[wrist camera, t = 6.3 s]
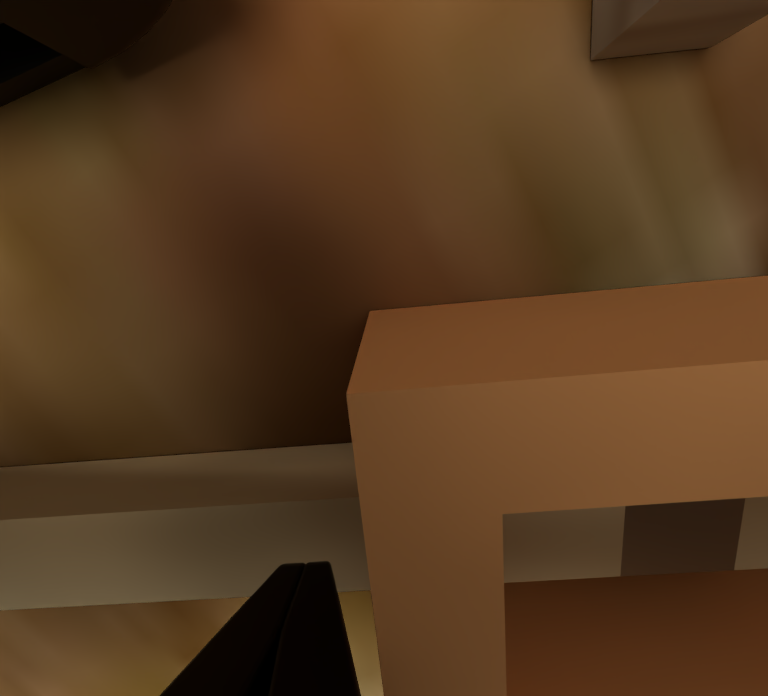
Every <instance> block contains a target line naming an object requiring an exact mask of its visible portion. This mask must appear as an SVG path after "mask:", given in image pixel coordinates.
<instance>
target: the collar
mask: <svg viewBox="0 0 768 696" xmlns="http://www.w3.org/2000/svg"><path fill="white" fill-rule="evenodd" d="M346 397H347V405H348V413H349V421H350V429H351V437H352V445H353V453H354V461H355V469H356V477H357V485H358V493H359V501H360V509H361V517H362V524H363V532H364V540H365V548H366V556H367V564H368V572H369V580H370V588H371V596H372V604H373V612H374V620H375V628H376V636H377V644H378V652H379V660H380V668H381V676H382V684H383V692H384V696H768V568H766V569H748V570H729V571H711V572H693V573H675V574H656V575H638V576H620V577H602V578H583V579H565V580H547V581H529V582H510V583H504V560H503V516H502V514H513V513H528V512H543V511H558V510H573V509H588V508H603V507H618V506H633V505H648V504H663V503H678V502H693V501H707V500H722V499H737V498H752V497H767V496H768V275H767V276H756V277H745V278H734V279H723V280H711V281H700V282H689V283H678V284H667V285H655V286H644V287H633V288H622V289H610V290H599V291H588V292H577V293H566V294H554V295H543V296H532V297H521V298H509V299H498V300H487V301H476V302H465V303H453V304H442V305H431V306H420V307H409V308H397V309H386V310H375V311H370V312H369V316H368V319H367V323H366V326H365V330H364V333H363V337H362V340H361V344H360V347H359V351H358V354H357V358H356V361H355V365H354V368H353V372H352V375H351V379H350V382H349V386H348V389H347V393H346Z"/></svg>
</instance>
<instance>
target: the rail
mask: <svg viewBox="0 0 768 696" xmlns="http://www.w3.org/2000/svg"><path fill="white" fill-rule="evenodd" d="M766 15H768V0H593V9H592V37H591V60H597V59H607V58H616V57H625V56H635V55H644V54H653V53H663V52H672V51H681V50H691V49H700V48H709V47H712V46H714V45H716V44H717V43H719V42H721V41H723V40H724V39H726V38H728V37H729V36H731V35H733V34H735V33H736V32H738V31H740V30H742V29H743V28H745V27H747V26H749V25H750V24H752V23H754V22H755V21H757V20H759V19H761V18H762V17H764V16H766ZM502 516H503V560H504V583H510V582H529V581H547V580H565V579H583V578H602V577H620V576H638V575H656V574H675V573H693V572H711V571H729V570H748V569H766V568H768V496H767V497H752V498H737V499H722V500H707V501H693V502H678V503H663V504H648V505H633V506H618V507H603V508H588V509H573V510H558V511H543V512H528V513H513V514H502ZM316 561H329V562H330V563H331V566H332V570H333V574H334V579H335V583H336V588H337V592H346V591H364V590H371V588H370V580H369V572H368V564H367V556H366V548H365V540H364V532H363V524H362V517H361V509H360V501H359V493H358V485H357V477H356V469H355V461H354V453H353V445H352V443H341V444H327V445H312V446H298V447H284V448H270V449H255V450H241V451H227V452H213V453H198V454H184V455H170V456H156V457H142V458H127V459H113V460H99V461H85V462H70V463H56V464H42V465H28V466H13V467H0V610H18V609H36V608H54V607H73V606H91V605H109V604H127V603H146V602H164V601H182V600H200V599H219V598H237V597H251V596H252V595H253V594H254V593H255V591H256V590H257V589H258V588H259V587H260V586H261V585H262V584H263V583H264V582H265V581H266V579H267V578H268V577H269V576H270V575H271V574H272V573H273V572H274V571H275V570H276V569H277V568H278V567H279V566H280V565H282V564H285V563H300V562H303V563H305V564H307V563H308V562H316Z"/></svg>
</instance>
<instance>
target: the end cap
mask: <svg viewBox="0 0 768 696" xmlns="http://www.w3.org/2000/svg"><path fill="white" fill-rule="evenodd" d="M171 1H172V0H0V107H1V106H3V105H5V104H7V103H9V102H11V101H14V100H16V99H18V98H20V97H22V96H24V95H26V94H29V93H31V92H33V91H35V90H37V89H39V88H41V87H44V86H46V85H48V84H50V83H52V82H54V81H56V80H59V79H61V78H63V77H65V76H67V75H69V74H71V73H74V72H76V71H78V70H80V69H82V68H84V67H87V68H90V69H92V68H95V67H97V66H98V65H100V64H102V63H104V62H106V61H107V60H109V59H111V58H113V57H115V56H116V55H118V54H120V53H122V52H123V51H125V50H126V49H127V48H128V47H130V46H131V45H132V44H134V43H135V42H136V41H137V40H139V39H140V38H141V37H143V36H144V35H145V34H146V33H147V32H148V31H149V30H150V29H151V28H152V27H153V25H154V24H155V23H156V22H157V21H158V20H159V19H160V18H161V16H162V15H163V14H164V13H165V12H166V11H167V9H168V7H169V5H170V3H171Z"/></svg>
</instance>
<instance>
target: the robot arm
mask: <svg viewBox="0 0 768 696" xmlns="http://www.w3.org/2000/svg"><path fill="white" fill-rule="evenodd" d="M160 696H361V694H360V689H359V685H358V681H357V676H356V672H355V667H354V663H353V658H352V654H351V650H350V645H349V641H348V636H347V632H346V627H345V623H344V619H343V614H342V610H341V605H340V601H339V597H338V592H337V588H336V583H335V579H334V574H333V570H332V566H331V563H330V562H329V561H316V562H308V563H307V564H305V563H303V562H300V563H285V564H282V565H280V566H279V567H278V568H277V569H276V570H275V571H274V572H273V573H272V574H271V575H270V576H269V577H268V578H267V579H266V581H265V582H264V583H263V584H262V585H261V586H260V587H259V588H258V589H257V590H256V591H255V593H254V594H253V595H252V596H251V597H250V598H249V599H248V600H247V601H246V602H245V603H244V604H243V606H242V607H241V608H240V609H239V610H238V611H237V612H236V613H235V614H234V615H233V616H232V617H231V619H230V620H229V621H228V622H227V623H226V624H225V625H224V626H223V627H222V628H221V629H220V631H219V632H218V633H217V634H216V635H215V636H214V637H213V638H212V639H211V640H210V641H209V642H208V644H207V645H206V646H205V647H204V648H203V649H202V650H201V651H200V652H199V653H198V654H197V655H196V657H195V658H194V659H193V660H192V661H191V662H190V663H189V664H188V665H187V666H186V667H185V669H184V670H183V671H182V672H181V673H180V674H179V675H178V676H177V677H176V678H175V679H174V680H173V682H172V683H171V684H170V685H169V686H168V687H167V688H166V689H165V690H164V691H163V692H162V693H161V695H160Z"/></svg>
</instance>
